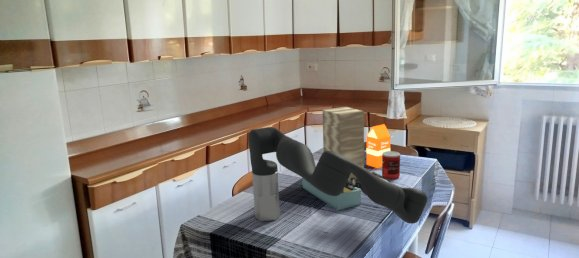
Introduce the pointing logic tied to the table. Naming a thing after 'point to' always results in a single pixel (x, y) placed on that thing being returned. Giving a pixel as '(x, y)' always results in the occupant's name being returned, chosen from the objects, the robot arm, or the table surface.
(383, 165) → the canned food
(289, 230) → the table surface
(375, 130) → the orange juice
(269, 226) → the table surface
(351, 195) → the open teal box
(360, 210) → the table surface
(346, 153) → the birch stand
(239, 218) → the table surface
